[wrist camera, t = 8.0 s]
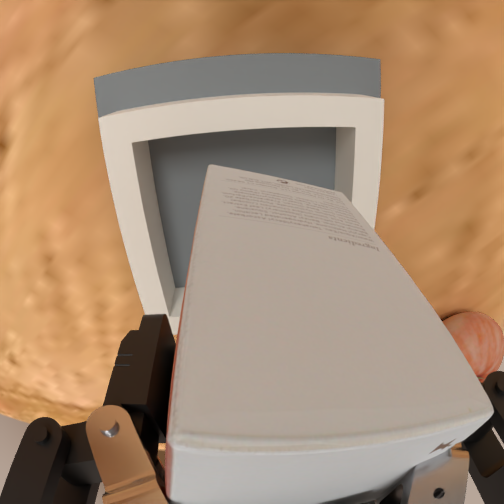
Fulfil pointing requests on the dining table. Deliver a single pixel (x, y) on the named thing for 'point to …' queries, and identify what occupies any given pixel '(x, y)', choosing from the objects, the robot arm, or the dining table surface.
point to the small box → (305, 355)
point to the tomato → (478, 341)
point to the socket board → (230, 145)
